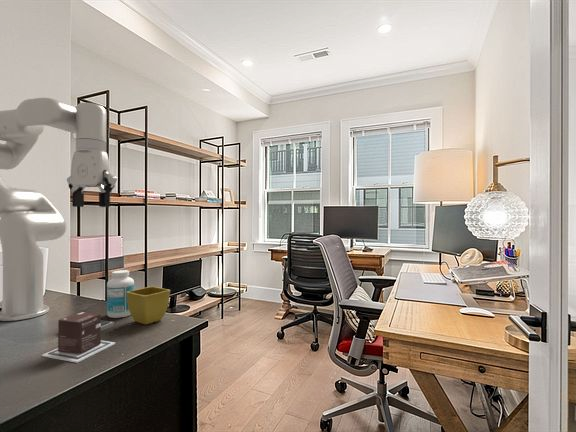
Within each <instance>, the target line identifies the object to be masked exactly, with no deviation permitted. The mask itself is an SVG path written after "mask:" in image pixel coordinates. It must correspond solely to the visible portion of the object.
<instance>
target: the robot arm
mask: <svg viewBox="0 0 576 432" xmlns="http://www.w3.org/2000/svg"><path fill="white" fill-rule="evenodd" d="M107 114H108V113H107V110H106V109H105V107H104V106H102V105H100V104H97V103H93V102H80V103H78V104H77V105H76V106H74V105H70V104H67V103H66V102H63V101H61V100H60V101H59V100H57V99H54V98H51V97H36V98H29V99H25V100H23V101H21V102H20V104H19V105H18V106H17V107H16V108H14V109H7V110H5V109H4V110H0V141H2V142H5V143H0V170H13V169H14V168H16V167H17V166H19V165H20V164H21V162H22V161H23V160H24V159H25V157H26V156H27V155H28V153H29V152H30V151H31V150H32V149H33V148H34V146H35V144H36V143H37V141H38V140H39V136H40V135H41V134H43V132H44V129H45V126H47V127H51V128H55V129H57V130H61V131H65V132H69V133H71V134H75V151H73V155H72V159H71V166H70V176H68V177H67V178H66V181H67V185H68V188H69V190H70V193H72V194H71V195H72V196H71V197H72V198H71V199H72V207H73V208H75V207H76V208H77V207H78V208H81V207H82V208H83V207H84V206H85V198H84V197H85V193H83V192H84V190H85V189H86V188H98V189H99V191H100V192H99V193H98V206H99V207H100V208H110V207H111V194H112V192H113V189H114V188H115V187H116V186H115V185H116V183H117V180H118V177H116V176H115V175H113V174H111V172H110V171H111V169H110V167H111V166H110V162H109V161H110V160H109V156H108V153H107V117H108V116H107ZM66 231H67V223H66V220H65V218H64V217H63V215H62V214H61V213H60V212H59V210H58V209H57V208H56V207H55V206H54V205H53V204H52V203H51V201H50V200H49V199H48V198H47V197H46V196H45V195H44V194H43V193H41V192H39V191H36V190H33V189H25V188H17V187H12V186H11V185H9V184H8V183H7V182H6V181H5V180H4V178H3V177H2V176H0V244H1V252H2V300H1V301H0V307H1V311H0V321H1V322H13V321H20V320H27V319H33V318H37V317H40V316H42V315H45V314H47V313H48V312H50V306H49V305H46V304H44V254H43V252H42V250H41V248H40V246H39V245H38V243H37V242H46V241H54V240H57V239H60V238H61V237H63V236H64V235H65V233H66Z"/></svg>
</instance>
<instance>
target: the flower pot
mask: <svg viewBox="0 0 576 432" xmlns="http://www.w3.org/2000/svg"><path fill="white" fill-rule="evenodd" d="M126 293H127V301H128V308H129V311H130V314H131V315H130V316H131V317H132V318H133V320H134V321H135V323H139V324H143V325H149V324H152V323H154V322H156V323H157V322H159V321H161V320H162V319H163V317H165V314H166V312H167V310H168V308H169V307H168V306H169V302H170V296H171V289H167V288H162V287H158V286H152V285H151V286H148V287H142V288H138V289H134V290H132V291H128V292H126Z"/></svg>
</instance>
